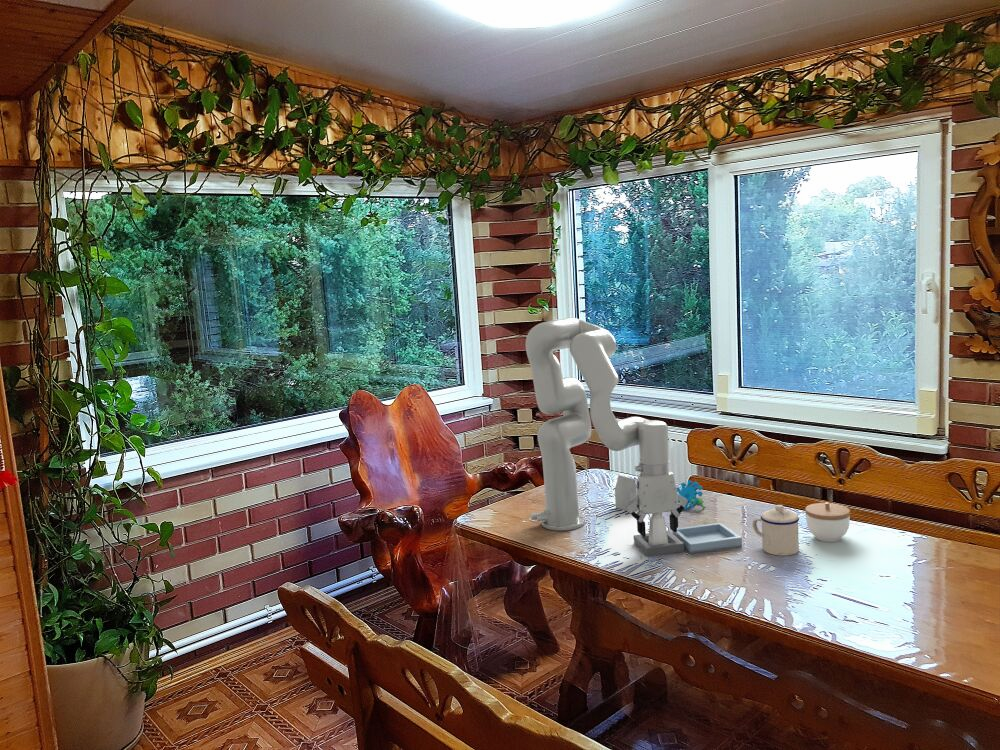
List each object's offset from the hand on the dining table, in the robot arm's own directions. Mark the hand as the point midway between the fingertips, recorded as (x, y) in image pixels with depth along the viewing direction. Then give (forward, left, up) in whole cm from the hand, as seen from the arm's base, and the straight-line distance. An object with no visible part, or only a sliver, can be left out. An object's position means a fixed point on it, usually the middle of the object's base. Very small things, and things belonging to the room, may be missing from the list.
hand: (658, 532), depth 199 cm
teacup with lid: (+27, -11, -4) cm, 29 cm away
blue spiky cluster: (+20, +27, -4) cm, 34 cm away
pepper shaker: (0, 0, -4) cm, 4 cm away
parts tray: (+13, -1, -4) cm, 14 cm away
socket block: (0, 0, -4) cm, 4 cm away
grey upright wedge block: (+3, +33, -4) cm, 33 cm away
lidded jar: (+43, -9, -4) cm, 44 cm away
